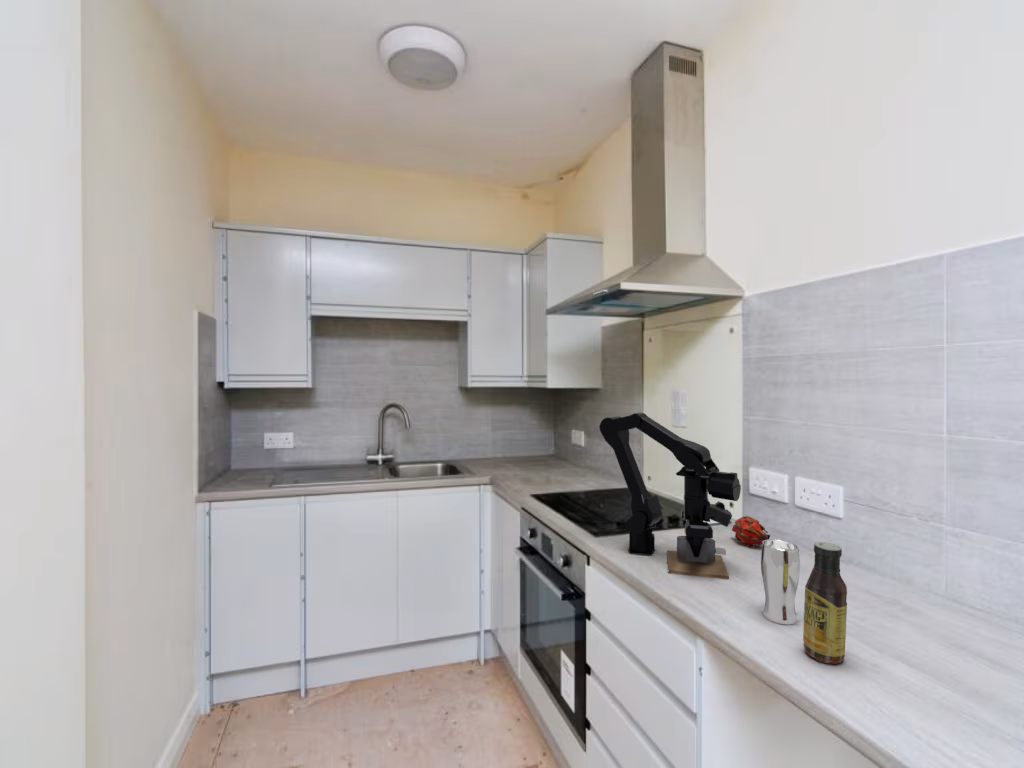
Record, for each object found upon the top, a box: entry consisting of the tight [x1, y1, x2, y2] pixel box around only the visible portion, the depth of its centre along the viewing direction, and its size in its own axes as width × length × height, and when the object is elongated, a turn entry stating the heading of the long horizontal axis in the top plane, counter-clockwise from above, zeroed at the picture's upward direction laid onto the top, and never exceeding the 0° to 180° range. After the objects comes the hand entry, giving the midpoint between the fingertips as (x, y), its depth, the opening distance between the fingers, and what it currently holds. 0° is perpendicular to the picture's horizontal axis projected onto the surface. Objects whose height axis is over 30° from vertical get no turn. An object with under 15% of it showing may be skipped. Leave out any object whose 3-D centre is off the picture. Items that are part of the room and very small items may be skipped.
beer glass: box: [760, 538, 801, 626], centre depth 98 cm, size 7×7×15 cm
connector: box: [676, 535, 727, 563], centre depth 124 cm, size 12×4×5 cm, turn 74°
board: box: [666, 549, 730, 580], centre depth 125 cm, size 14×14×1 cm
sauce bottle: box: [802, 541, 848, 665], centre depth 84 cm, size 6×6×20 cm
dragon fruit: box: [731, 515, 771, 549], centre depth 140 cm, size 8×8×12 cm
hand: (695, 553), depth 125 cm, fingers closed on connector, 4 cm apart
